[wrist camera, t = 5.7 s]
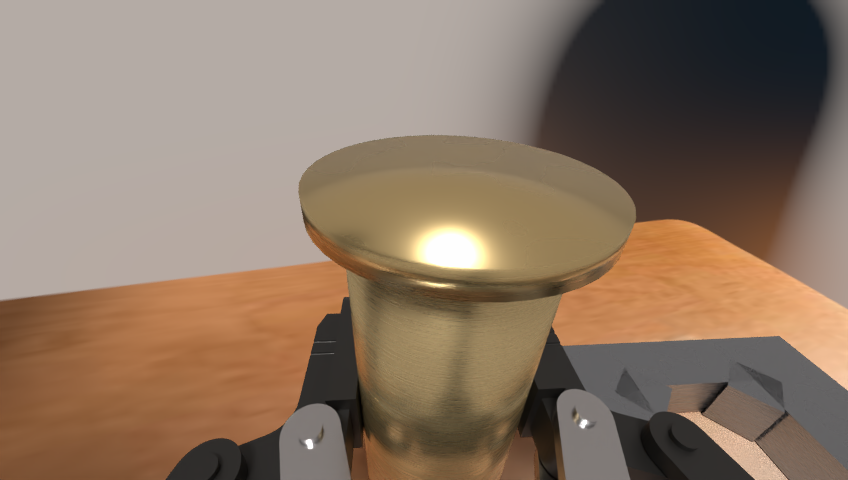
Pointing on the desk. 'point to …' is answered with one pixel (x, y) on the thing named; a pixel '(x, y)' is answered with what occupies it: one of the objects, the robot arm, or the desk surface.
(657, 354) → the jig
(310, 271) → the desk surface
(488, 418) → the rivet
